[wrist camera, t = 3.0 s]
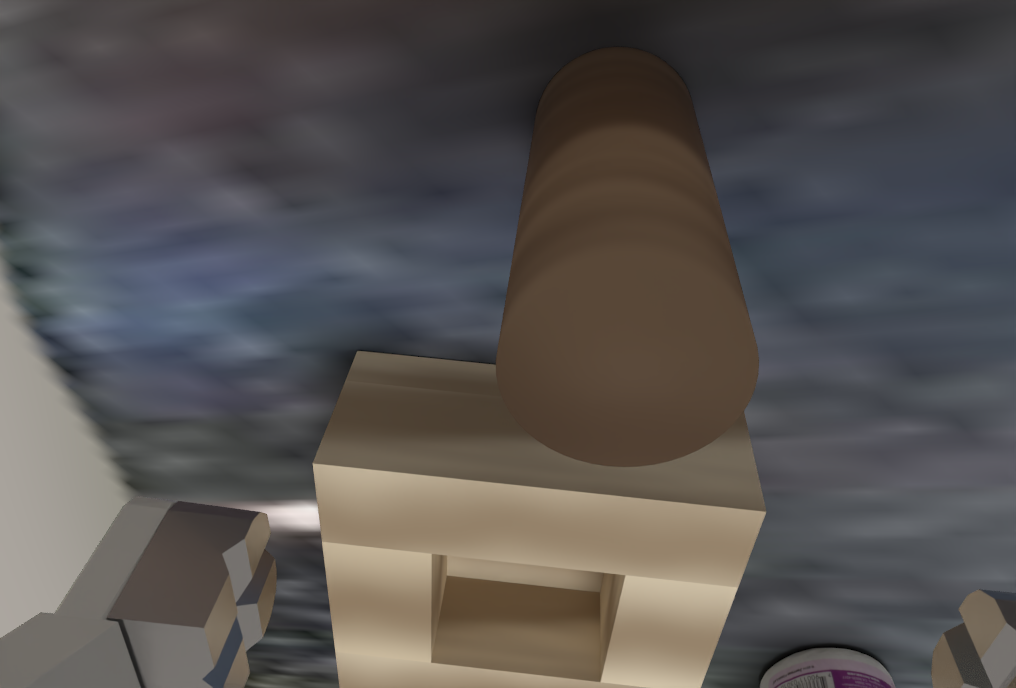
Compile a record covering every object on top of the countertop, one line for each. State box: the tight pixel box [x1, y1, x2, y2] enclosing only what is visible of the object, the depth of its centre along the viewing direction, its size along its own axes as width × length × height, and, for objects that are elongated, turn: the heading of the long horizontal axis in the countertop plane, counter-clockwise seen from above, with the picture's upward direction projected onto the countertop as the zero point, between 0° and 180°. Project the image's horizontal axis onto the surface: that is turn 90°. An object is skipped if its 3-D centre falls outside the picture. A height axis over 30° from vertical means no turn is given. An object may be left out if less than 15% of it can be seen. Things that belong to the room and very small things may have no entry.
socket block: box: [313, 351, 766, 688], centre depth 27 cm, size 12×12×5 cm
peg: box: [496, 47, 759, 467], centre depth 16 cm, size 4×4×10 cm
